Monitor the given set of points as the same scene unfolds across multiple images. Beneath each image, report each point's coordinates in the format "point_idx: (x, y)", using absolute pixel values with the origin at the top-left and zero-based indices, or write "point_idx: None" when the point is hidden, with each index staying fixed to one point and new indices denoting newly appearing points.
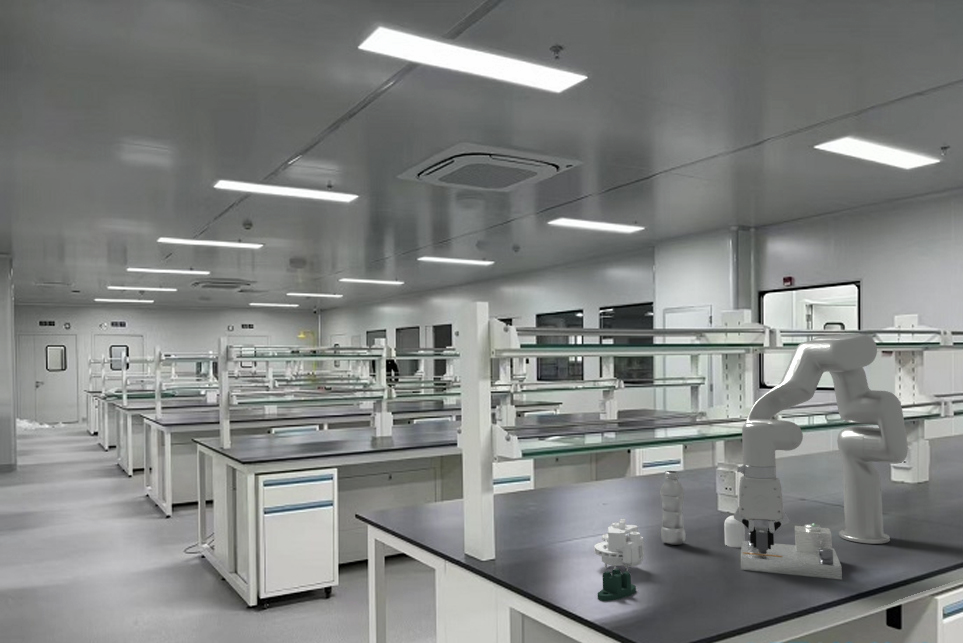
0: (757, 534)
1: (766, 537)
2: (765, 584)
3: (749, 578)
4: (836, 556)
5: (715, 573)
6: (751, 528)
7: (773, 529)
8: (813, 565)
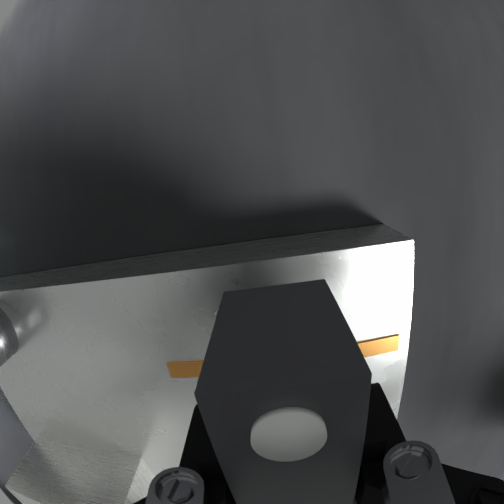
0: (342, 357)
1: (218, 353)
2: (226, 24)
3: (320, 81)
4: (19, 416)
5: (471, 109)
6: (407, 469)
7: (161, 498)
8: (22, 285)
